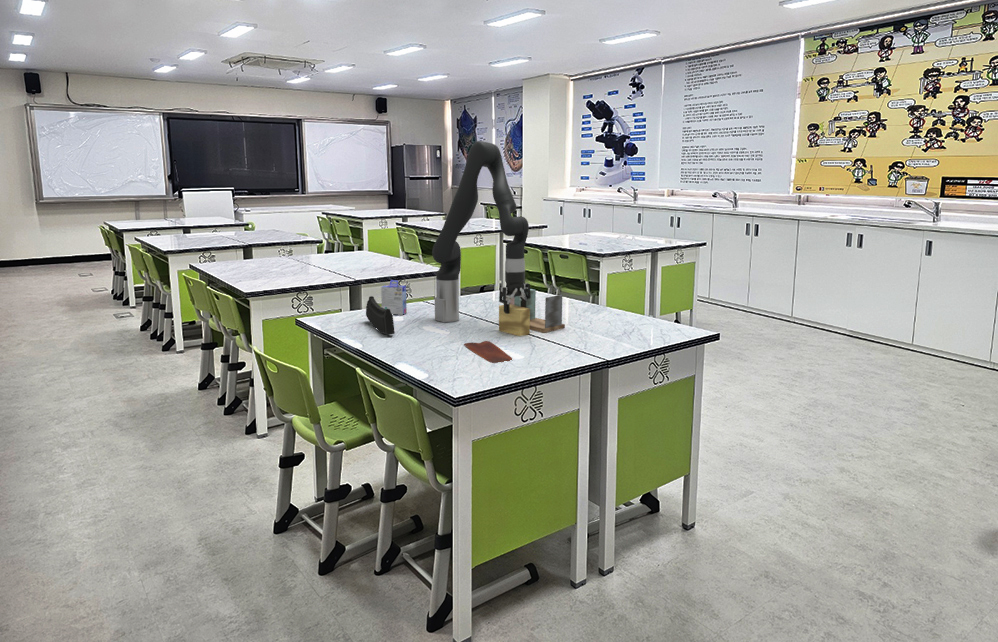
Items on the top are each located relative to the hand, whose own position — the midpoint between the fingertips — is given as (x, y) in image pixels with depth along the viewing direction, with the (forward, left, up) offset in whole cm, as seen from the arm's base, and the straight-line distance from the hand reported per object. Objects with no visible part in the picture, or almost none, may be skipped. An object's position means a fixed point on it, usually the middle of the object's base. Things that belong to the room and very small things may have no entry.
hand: (515, 311), depth 262 cm
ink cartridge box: (-16, +59, -8) cm, 62 cm away
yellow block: (0, 0, -8) cm, 8 cm away
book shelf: (+14, +5, -8) cm, 17 cm away
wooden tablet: (-27, -15, -9) cm, 32 cm away
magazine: (-36, +39, -8) cm, 54 cm away
